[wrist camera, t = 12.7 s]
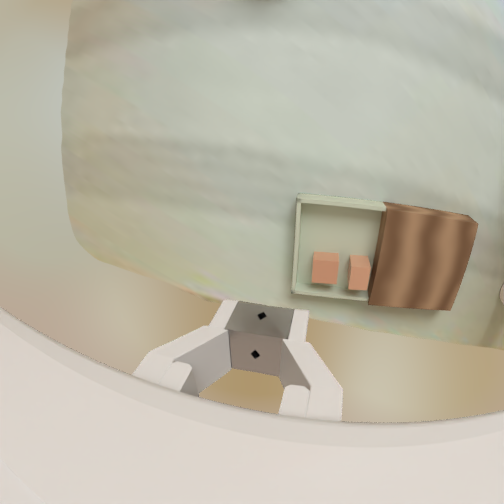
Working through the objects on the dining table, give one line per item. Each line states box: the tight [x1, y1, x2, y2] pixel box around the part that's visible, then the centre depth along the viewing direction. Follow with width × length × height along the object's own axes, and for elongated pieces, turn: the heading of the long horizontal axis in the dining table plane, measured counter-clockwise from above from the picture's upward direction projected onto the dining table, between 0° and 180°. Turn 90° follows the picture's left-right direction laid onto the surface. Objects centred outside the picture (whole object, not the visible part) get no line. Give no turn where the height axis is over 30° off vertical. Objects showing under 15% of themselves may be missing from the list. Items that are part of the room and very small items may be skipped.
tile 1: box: [312, 251, 339, 284], centre depth 44 cm, size 4×4×3 cm
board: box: [367, 202, 478, 311], centre depth 39 cm, size 16×16×4 cm
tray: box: [291, 193, 386, 301], centre depth 42 cm, size 13×16×3 cm
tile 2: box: [347, 255, 371, 290], centre depth 42 cm, size 4×4×3 cm
